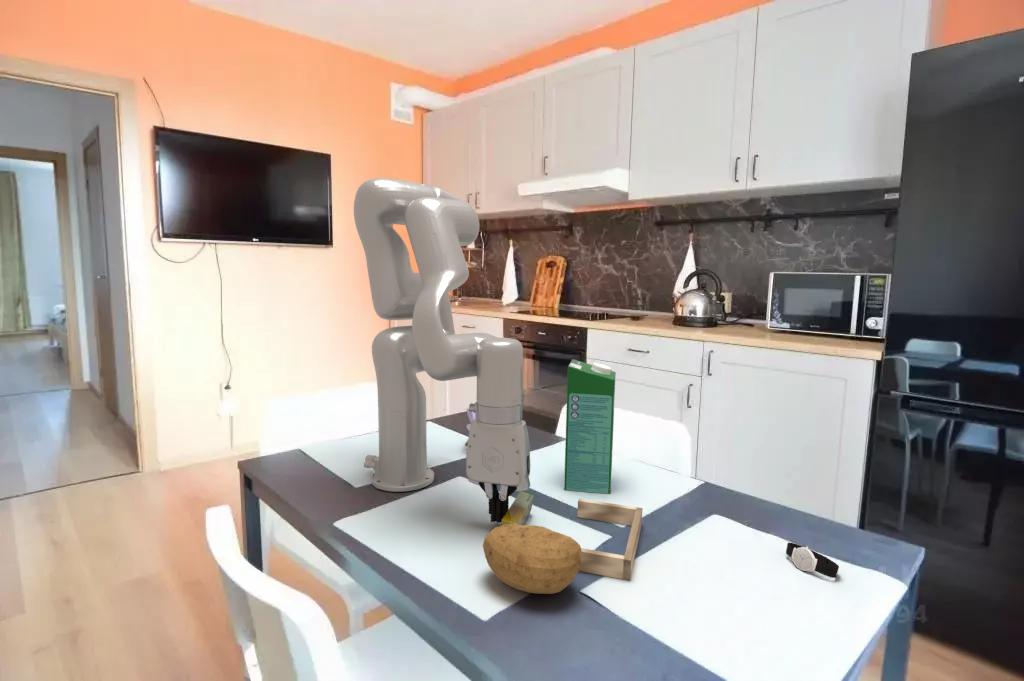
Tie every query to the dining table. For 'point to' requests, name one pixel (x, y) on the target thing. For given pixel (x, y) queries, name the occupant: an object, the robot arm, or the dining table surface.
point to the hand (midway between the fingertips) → (498, 519)
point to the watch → (811, 560)
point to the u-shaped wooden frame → (607, 561)
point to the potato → (532, 557)
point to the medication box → (519, 509)
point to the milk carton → (589, 427)
